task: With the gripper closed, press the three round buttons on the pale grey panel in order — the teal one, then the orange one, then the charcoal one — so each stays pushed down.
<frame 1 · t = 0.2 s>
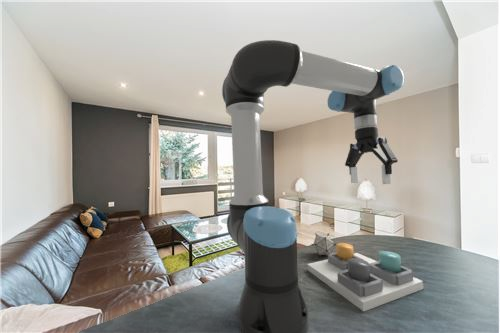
hand: (369, 183, 71), 27 cm above the table, tool pointing down, fingers open, 13 cm apart
grey spiky polyhedron: (324, 255, 72), on the table
charcoal button: (358, 269, 49), point 6 cm above the table, slide at 0.0 cm
orange button: (344, 251, 60), point 6 cm above the table, slide at 0.0 cm
panel: (359, 278, 55), on the table
teal button: (389, 260, 53), point 6 cm above the table, slide at 0.0 cm
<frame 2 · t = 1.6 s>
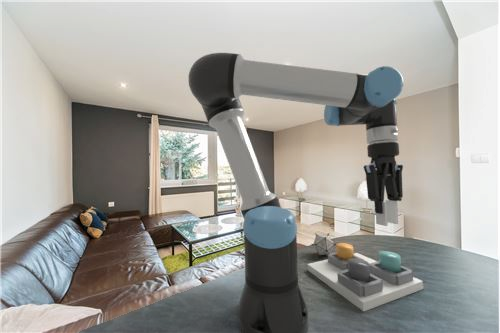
hand: (387, 223, 53), 17 cm above the table, tool pointing down, fingers open, 4 cm apart
nothing on the table moved.
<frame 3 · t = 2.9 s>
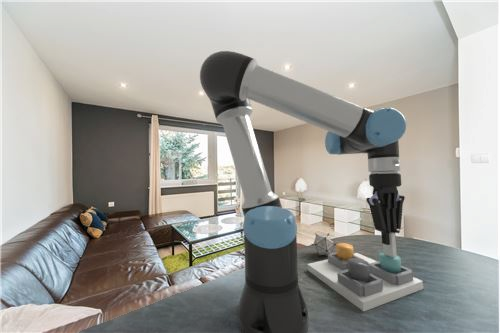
hand: (389, 255, 53), 8 cm above the table, tool pointing down, fingers closed
teal button: (389, 262, 53), point 6 cm above the table, slide at -0.5 cm, touching gripper
everything else where it was.
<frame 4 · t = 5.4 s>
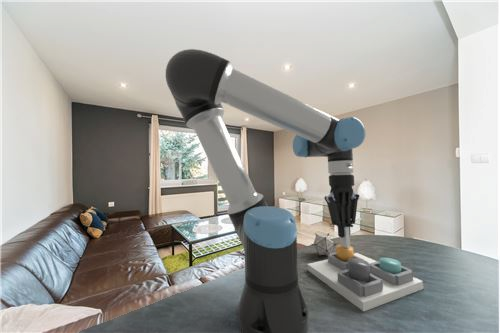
hand: (345, 246, 60), 8 cm above the table, tool pointing down, fingers closed
orange button: (344, 253, 60), point 6 cm above the table, slide at -0.6 cm, touching gripper
teal button: (390, 267, 53), point 4 cm above the table, slide at -1.9 cm
everything else where it was.
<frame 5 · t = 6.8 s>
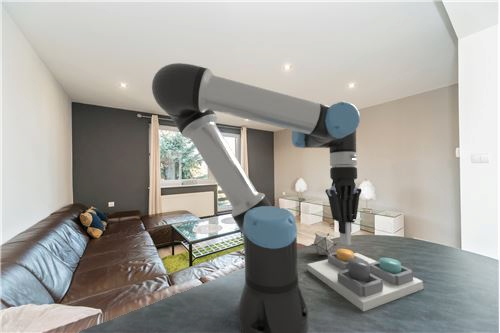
hand: (345, 243, 57), 10 cm above the table, tool pointing down, fingers closed
orange button: (345, 257, 60), point 4 cm above the table, slide at -1.9 cm
everything else where it was.
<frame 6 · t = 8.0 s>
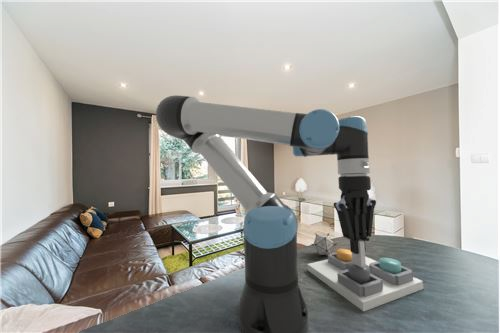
hand: (359, 264, 49), 7 cm above the table, tool pointing down, fingers closed
charcoal button: (358, 272, 49), point 5 cm above the table, slide at -0.9 cm, touching gripper
everything else where it was.
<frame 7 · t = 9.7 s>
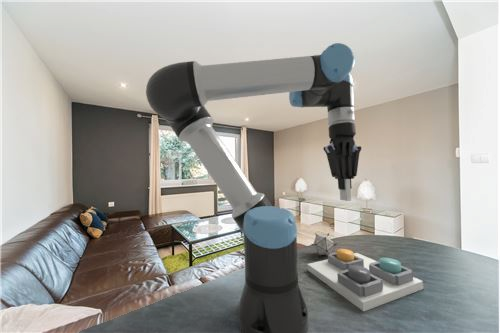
hand: (345, 200, 57), 23 cm above the table, tool pointing down, fingers closed
charcoal button: (359, 276, 49), point 4 cm above the table, slide at -1.9 cm
everything else where it was.
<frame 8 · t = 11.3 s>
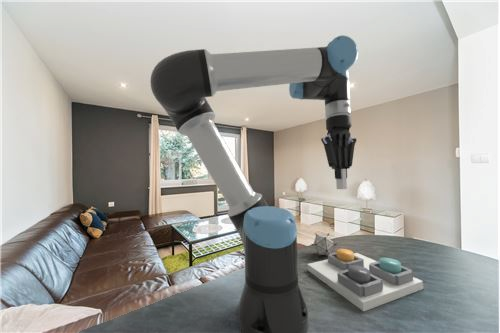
hand: (341, 189, 60), 26 cm above the table, tool pointing down, fingers closed
nothing on the table moved.
at the end: teal button slide at -1.9 cm; orange button slide at -1.9 cm; charcoal button slide at -1.9 cm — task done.
